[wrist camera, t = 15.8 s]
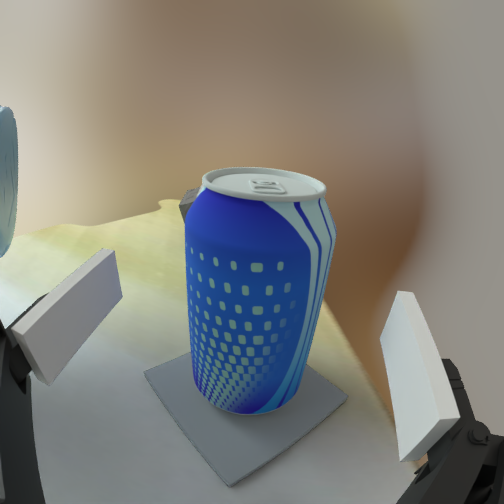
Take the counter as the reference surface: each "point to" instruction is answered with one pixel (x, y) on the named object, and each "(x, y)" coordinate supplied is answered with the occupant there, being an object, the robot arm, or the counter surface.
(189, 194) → the electrical switch
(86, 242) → the counter surface
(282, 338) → the beer can
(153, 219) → the counter surface
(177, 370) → the coaster mat
